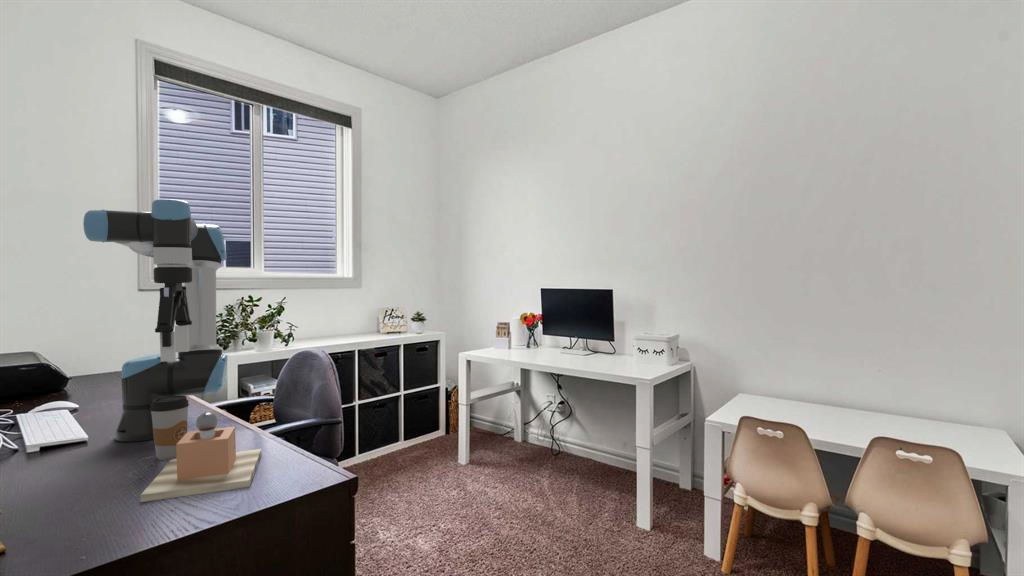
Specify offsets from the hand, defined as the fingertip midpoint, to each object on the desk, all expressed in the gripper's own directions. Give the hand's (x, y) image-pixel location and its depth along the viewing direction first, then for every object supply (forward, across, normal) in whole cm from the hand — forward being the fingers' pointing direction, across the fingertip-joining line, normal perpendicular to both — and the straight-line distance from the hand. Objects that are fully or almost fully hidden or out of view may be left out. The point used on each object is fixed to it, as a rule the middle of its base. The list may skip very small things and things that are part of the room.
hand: (175, 356), depth 118 cm
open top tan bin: (+26, +6, +7) cm, 27 cm away
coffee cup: (+28, -14, -4) cm, 32 cm away
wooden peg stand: (+28, +6, +7) cm, 29 cm away
